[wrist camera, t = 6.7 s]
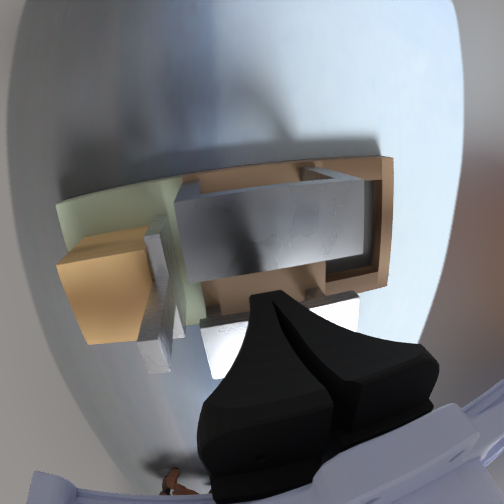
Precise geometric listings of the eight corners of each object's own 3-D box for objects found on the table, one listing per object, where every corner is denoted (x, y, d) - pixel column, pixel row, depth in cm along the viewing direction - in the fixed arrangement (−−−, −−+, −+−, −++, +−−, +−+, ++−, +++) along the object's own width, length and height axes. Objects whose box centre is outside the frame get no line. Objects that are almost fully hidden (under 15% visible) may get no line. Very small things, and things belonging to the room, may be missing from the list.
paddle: (186, 303, 19) (184, 406, 11) (175, 304, 19) (166, 408, 11) (167, 214, 17) (139, 283, 9) (154, 216, 16) (117, 287, 8)
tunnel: (318, 298, 21) (354, 348, 15) (208, 319, 20) (213, 379, 14) (315, 165, 17) (364, 179, 12) (182, 181, 16) (173, 202, 11)
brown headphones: (208, 490, 35) (185, 524, 27) (169, 453, 35) (140, 486, 27) (267, 483, 30) (247, 527, 23) (225, 442, 31) (195, 486, 23)
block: (173, 296, 19) (168, 336, 15) (105, 305, 18) (87, 344, 14) (156, 223, 17) (144, 249, 13) (84, 237, 16) (55, 265, 12)
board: (377, 277, 23) (386, 286, 22) (103, 324, 20) (99, 335, 19) (381, 155, 19) (393, 157, 18) (64, 199, 17) (55, 204, 15)
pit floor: (369, 263, 22) (370, 265, 22) (317, 273, 22) (319, 275, 22) (371, 176, 20) (373, 176, 19) (315, 180, 19) (316, 181, 19)
